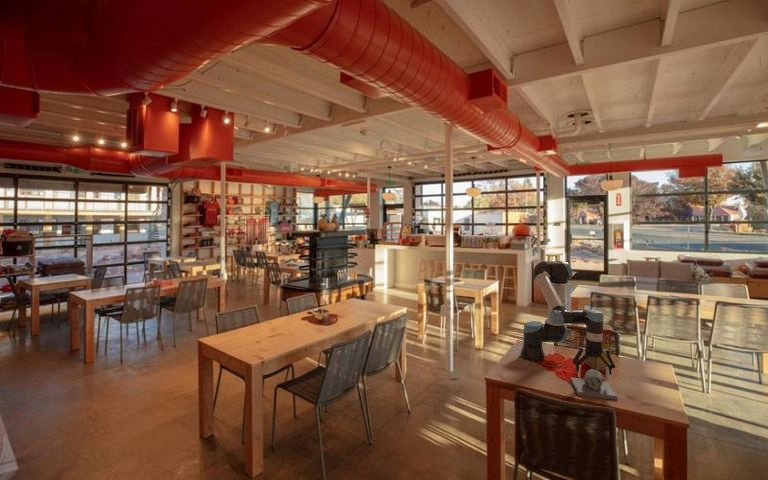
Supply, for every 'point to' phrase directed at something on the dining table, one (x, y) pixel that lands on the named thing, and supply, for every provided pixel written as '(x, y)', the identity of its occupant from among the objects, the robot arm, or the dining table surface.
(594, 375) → the spool
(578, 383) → the plate
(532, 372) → the dining table surface
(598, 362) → the food packaging
